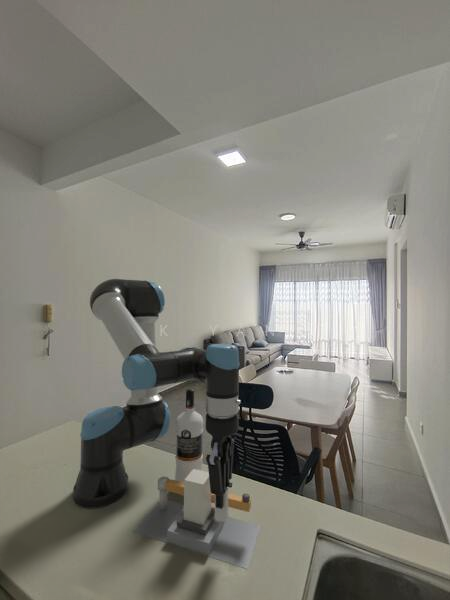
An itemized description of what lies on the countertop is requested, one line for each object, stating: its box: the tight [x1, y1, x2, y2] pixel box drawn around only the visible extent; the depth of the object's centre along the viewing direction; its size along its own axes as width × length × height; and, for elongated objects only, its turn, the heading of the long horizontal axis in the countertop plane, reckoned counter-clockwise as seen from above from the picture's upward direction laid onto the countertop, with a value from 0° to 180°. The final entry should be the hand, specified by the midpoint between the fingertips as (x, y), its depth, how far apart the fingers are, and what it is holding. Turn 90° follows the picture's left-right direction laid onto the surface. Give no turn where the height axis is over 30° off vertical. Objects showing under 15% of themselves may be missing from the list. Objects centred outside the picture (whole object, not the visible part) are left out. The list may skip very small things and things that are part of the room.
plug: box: [177, 469, 215, 535], centre depth 69 cm, size 7×7×13 cm
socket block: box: [133, 491, 262, 570], centre depth 69 cm, size 28×12×6 cm, turn 70°
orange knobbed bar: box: [157, 476, 252, 513], centre depth 73 cm, size 26×3×3 cm, turn 70°
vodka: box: [173, 388, 204, 497], centre depth 86 cm, size 9×9×30 cm
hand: (221, 518), depth 64 cm, fingers closed
